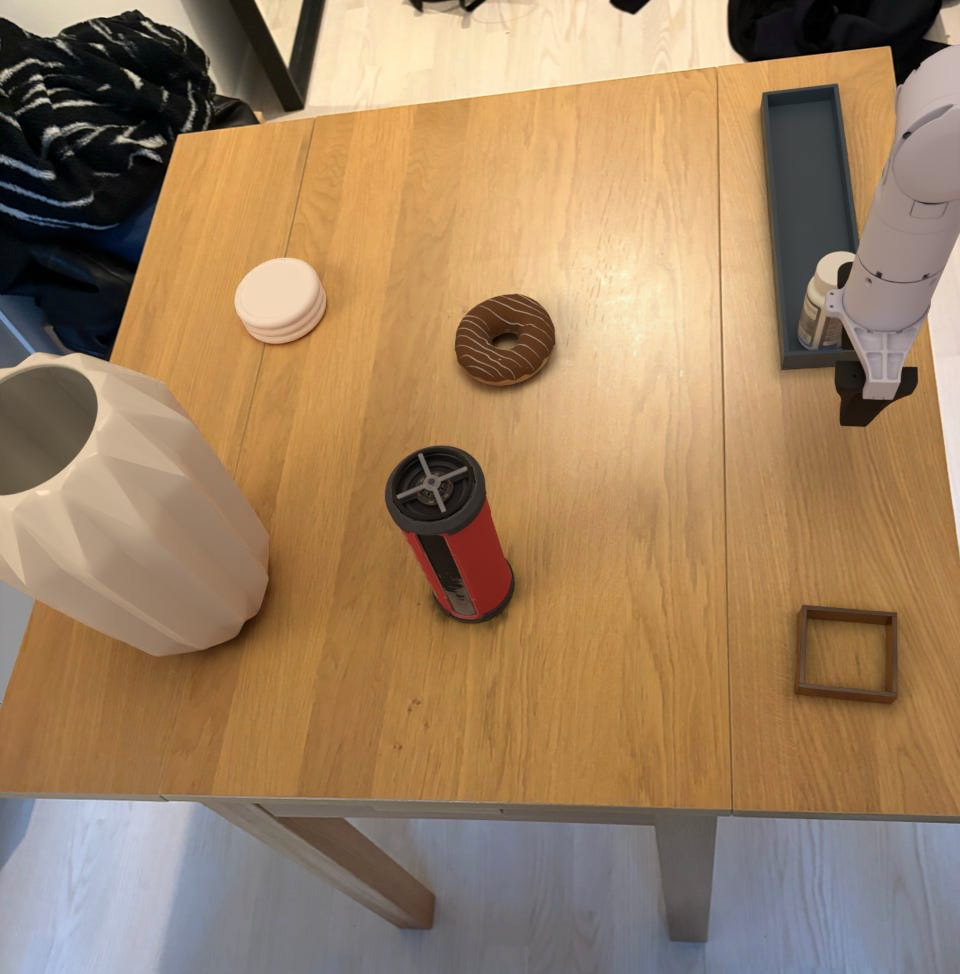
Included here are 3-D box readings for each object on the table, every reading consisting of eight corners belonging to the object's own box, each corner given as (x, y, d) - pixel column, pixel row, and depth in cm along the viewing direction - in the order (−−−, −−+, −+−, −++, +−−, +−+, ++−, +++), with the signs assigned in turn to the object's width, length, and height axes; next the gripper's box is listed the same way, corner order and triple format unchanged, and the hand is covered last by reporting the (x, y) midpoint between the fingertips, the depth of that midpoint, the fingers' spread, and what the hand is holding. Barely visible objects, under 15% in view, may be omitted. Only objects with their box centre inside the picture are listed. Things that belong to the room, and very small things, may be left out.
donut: (531, 298, 89) (527, 270, 85) (574, 365, 85) (571, 337, 81) (443, 340, 89) (434, 313, 85) (480, 409, 85) (473, 383, 81)
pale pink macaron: (304, 353, 92) (292, 330, 89) (231, 337, 95) (217, 315, 92) (342, 286, 95) (331, 261, 92) (269, 272, 98) (257, 248, 94)
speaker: (527, 605, 75) (497, 501, 59) (450, 637, 76) (399, 542, 59) (498, 538, 79) (462, 423, 62) (424, 569, 79) (368, 462, 62)
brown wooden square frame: (798, 613, 71) (802, 604, 69) (891, 621, 69) (897, 612, 67) (795, 694, 68) (798, 687, 66) (891, 704, 66) (897, 697, 65)
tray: (759, 109, 94) (762, 92, 92) (834, 100, 92) (838, 82, 90) (781, 369, 80) (784, 355, 78) (868, 364, 79) (874, 350, 77)
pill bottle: (853, 322, 80) (876, 253, 73) (839, 359, 79) (861, 292, 71) (804, 311, 82) (821, 243, 74) (789, 348, 80) (805, 282, 73)
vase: (154, 504, 87) (-39, 315, 62) (323, 515, 83) (189, 317, 58) (93, 675, 81) (-150, 540, 56) (274, 697, 76) (98, 561, 51)
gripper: (841, 174, 58) (805, 314, 71) (837, 335, 53) (799, 456, 66) (950, 171, 57) (894, 315, 69) (956, 337, 52) (894, 460, 64)
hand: (854, 384), depth 67 cm, fingers open, 7 cm apart
